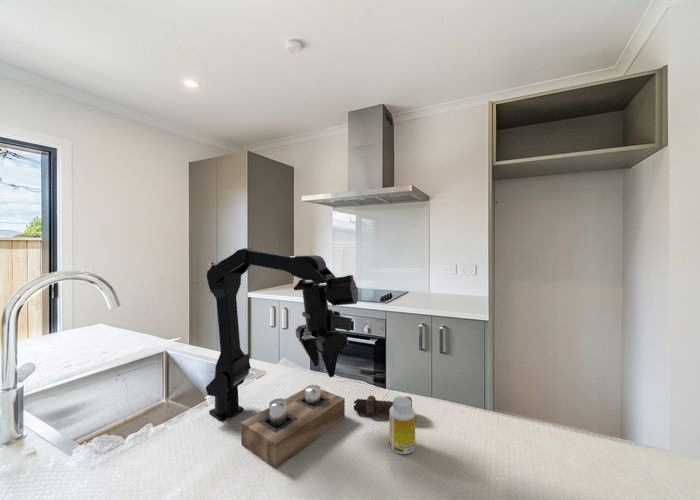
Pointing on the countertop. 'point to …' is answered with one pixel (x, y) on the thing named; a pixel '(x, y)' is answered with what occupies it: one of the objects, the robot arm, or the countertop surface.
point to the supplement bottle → (402, 425)
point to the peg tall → (278, 412)
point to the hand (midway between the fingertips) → (323, 371)
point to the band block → (291, 427)
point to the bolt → (373, 406)
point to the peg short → (312, 395)
